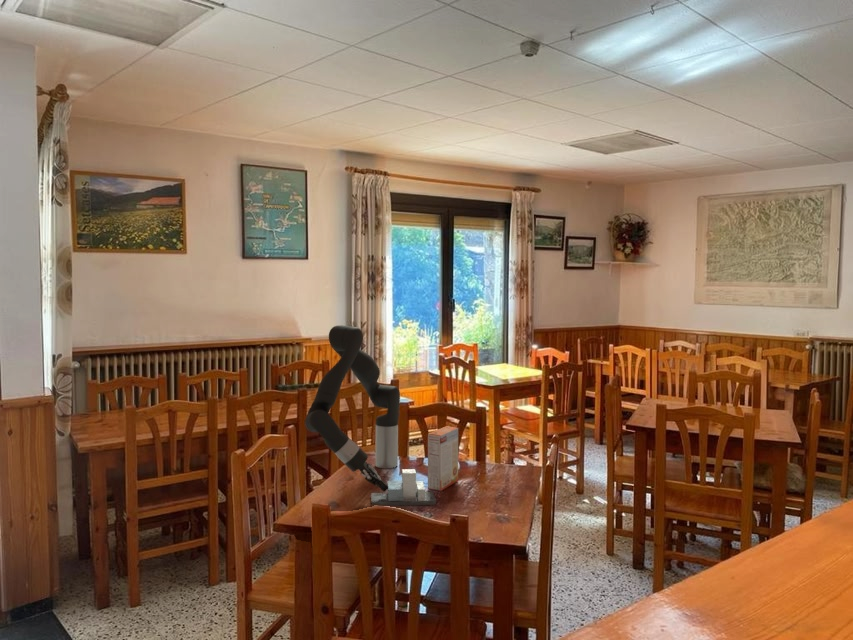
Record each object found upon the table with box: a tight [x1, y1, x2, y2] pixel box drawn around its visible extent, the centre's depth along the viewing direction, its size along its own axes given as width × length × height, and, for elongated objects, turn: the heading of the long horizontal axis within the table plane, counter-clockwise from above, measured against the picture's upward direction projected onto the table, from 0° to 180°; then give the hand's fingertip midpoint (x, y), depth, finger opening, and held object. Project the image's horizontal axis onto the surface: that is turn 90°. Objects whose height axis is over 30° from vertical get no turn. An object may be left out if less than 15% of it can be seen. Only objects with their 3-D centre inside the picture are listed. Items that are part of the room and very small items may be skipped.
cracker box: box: [427, 425, 459, 492], centre depth 236 cm, size 14×6×21 cm, turn 149°
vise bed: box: [370, 480, 437, 507], centre depth 219 cm, size 9×22×6 cm, turn 96°
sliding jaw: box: [386, 480, 403, 501], centre depth 219 cm, size 9×5×4 cm, turn 6°
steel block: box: [401, 468, 417, 499], centre depth 219 cm, size 4×4×9 cm
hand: (386, 489), depth 219 cm, fingers closed
